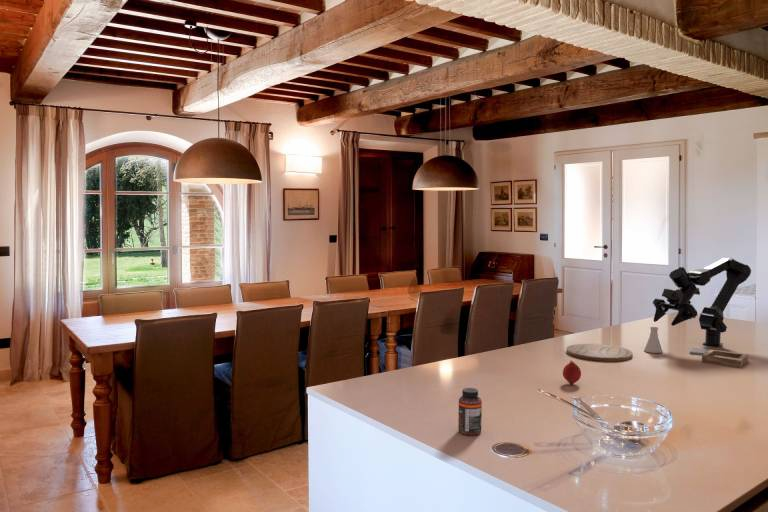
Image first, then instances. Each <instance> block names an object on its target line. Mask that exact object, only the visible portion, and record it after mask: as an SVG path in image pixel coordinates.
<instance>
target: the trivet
mask: <svg viewBox="0 0 768 512" xmlns="http://www.w3.org/2000/svg"><path fill="white" fill-rule="evenodd" d="M565 352H566V354H567V355H568V356H571V357H573V358H576V359H580V360H585V361H591V362H603V363H608V362H609V363H615V362H616V363H617V362H625V361H630V360H632V359H633V356H634V355H633V354H634V353H633V351H632V350H630V349H628V348H625V347H622V346H618V345H617V346H616V345H610V344H603V343H576V344H571V345H568V346H566V351H565Z"/></svg>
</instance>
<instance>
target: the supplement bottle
mask: <svg viewBox="0 0 768 512" xmlns="http://www.w3.org/2000/svg"><path fill="white" fill-rule="evenodd" d="M482 403H483V402H482V398H481V397H480V396H479V389H477V388H475V387H464V388H463V389H462V394H461V396H460V397H459V398H458V418H457V419H458V421H457V422H458V426H457V428H458V432H459V433H460V434H462V435H464V436H469V437H470V436H478V435H479V434H481V433H482V415H483V413H482V411H483V410H482V409H483V407H482Z"/></svg>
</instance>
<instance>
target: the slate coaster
mask: <svg viewBox="0 0 768 512" xmlns="http://www.w3.org/2000/svg"><path fill="white" fill-rule="evenodd" d="M709 350H712V349H711V348H710V349H709V348H700V347H691V349H690V351H689V354H690V355H699V356H702V355H703V354H705V353H706V352H708V351H709Z"/></svg>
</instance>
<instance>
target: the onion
mask: <svg viewBox="0 0 768 512" xmlns="http://www.w3.org/2000/svg"><path fill="white" fill-rule="evenodd" d="M562 377H563V379H565V380H566V381H567V383H569V385H574V384H575V383H577V382H579V380H580V379H581V377H582V370H581V368H580V367H579V366H578V364H576V363H575V362H574V361H573V359H571V360H570V359H569V363H567V364H565V366H564V367H563V370H562Z"/></svg>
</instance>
